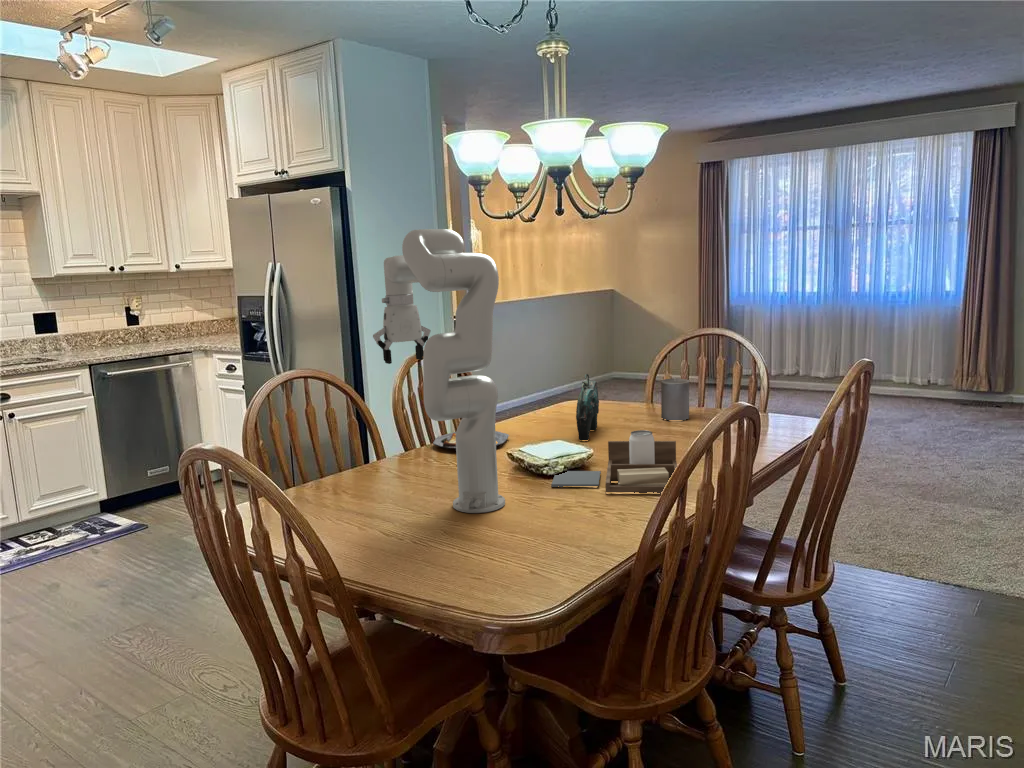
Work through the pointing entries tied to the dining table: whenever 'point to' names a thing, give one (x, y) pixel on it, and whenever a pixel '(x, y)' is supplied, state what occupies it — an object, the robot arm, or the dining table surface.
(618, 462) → the open wooden box
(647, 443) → the can
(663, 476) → the offcut upper
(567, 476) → the mat
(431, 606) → the dining table surface
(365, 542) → the dining table surface
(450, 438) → the food plate
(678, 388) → the pillar candle
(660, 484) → the offcut lower
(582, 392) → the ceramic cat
